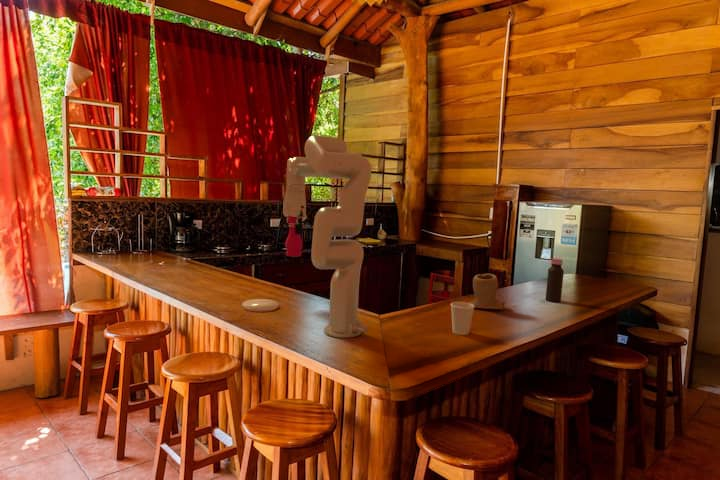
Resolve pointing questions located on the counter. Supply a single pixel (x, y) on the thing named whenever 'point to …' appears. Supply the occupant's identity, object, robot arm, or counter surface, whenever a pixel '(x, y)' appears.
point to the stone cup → (486, 292)
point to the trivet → (260, 305)
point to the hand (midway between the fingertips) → (294, 232)
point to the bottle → (555, 281)
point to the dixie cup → (461, 317)
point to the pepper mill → (293, 240)
